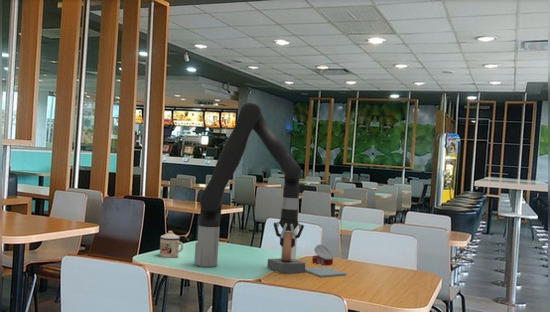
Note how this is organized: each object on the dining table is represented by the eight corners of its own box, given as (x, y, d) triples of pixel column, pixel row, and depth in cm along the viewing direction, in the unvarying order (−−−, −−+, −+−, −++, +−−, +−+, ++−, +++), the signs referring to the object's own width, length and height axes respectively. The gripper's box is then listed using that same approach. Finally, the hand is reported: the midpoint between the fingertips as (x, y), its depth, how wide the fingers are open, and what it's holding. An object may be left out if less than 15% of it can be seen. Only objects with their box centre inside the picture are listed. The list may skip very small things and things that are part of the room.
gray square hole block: (281, 273, 215) (282, 264, 215) (267, 268, 225) (267, 258, 225) (304, 272, 221) (305, 263, 221) (289, 266, 231) (290, 257, 231)
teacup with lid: (154, 256, 235) (156, 230, 235) (166, 253, 243) (168, 229, 244) (176, 259, 230) (178, 234, 230) (187, 256, 238) (189, 232, 239)
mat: (320, 277, 213) (320, 275, 213) (301, 270, 225) (301, 268, 225) (346, 275, 220) (346, 273, 220) (326, 268, 232) (326, 266, 232)
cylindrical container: (295, 262, 241) (299, 210, 242) (280, 261, 241) (284, 209, 242) (295, 259, 248) (298, 209, 249) (280, 258, 249) (284, 208, 249)
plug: (284, 260, 220) (286, 233, 220) (279, 259, 224) (281, 231, 224) (292, 260, 222) (294, 233, 222) (287, 258, 226) (289, 231, 226)
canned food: (327, 271, 249) (337, 254, 249) (327, 273, 239) (338, 255, 240) (307, 259, 250) (318, 241, 251) (307, 260, 240) (318, 242, 241)
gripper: (273, 207, 220) (270, 246, 219) (306, 209, 219) (303, 249, 219) (274, 206, 227) (271, 244, 227) (305, 208, 227) (303, 246, 226)
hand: (287, 246), depth 223 cm, fingers closed on plug, 4 cm apart
